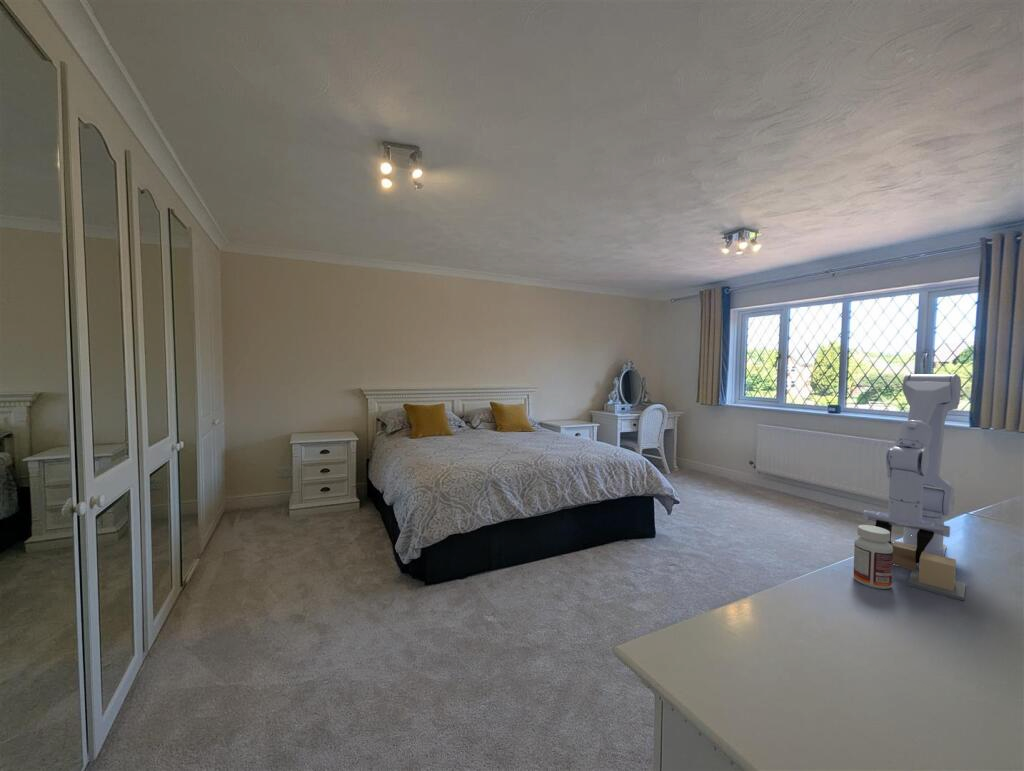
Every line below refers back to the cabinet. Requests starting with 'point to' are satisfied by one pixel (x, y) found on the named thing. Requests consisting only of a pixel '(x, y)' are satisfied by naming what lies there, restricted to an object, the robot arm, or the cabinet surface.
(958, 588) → the tower base
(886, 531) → the pill bottle
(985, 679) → the cabinet surface
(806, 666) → the cabinet surface
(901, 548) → the walnut block
